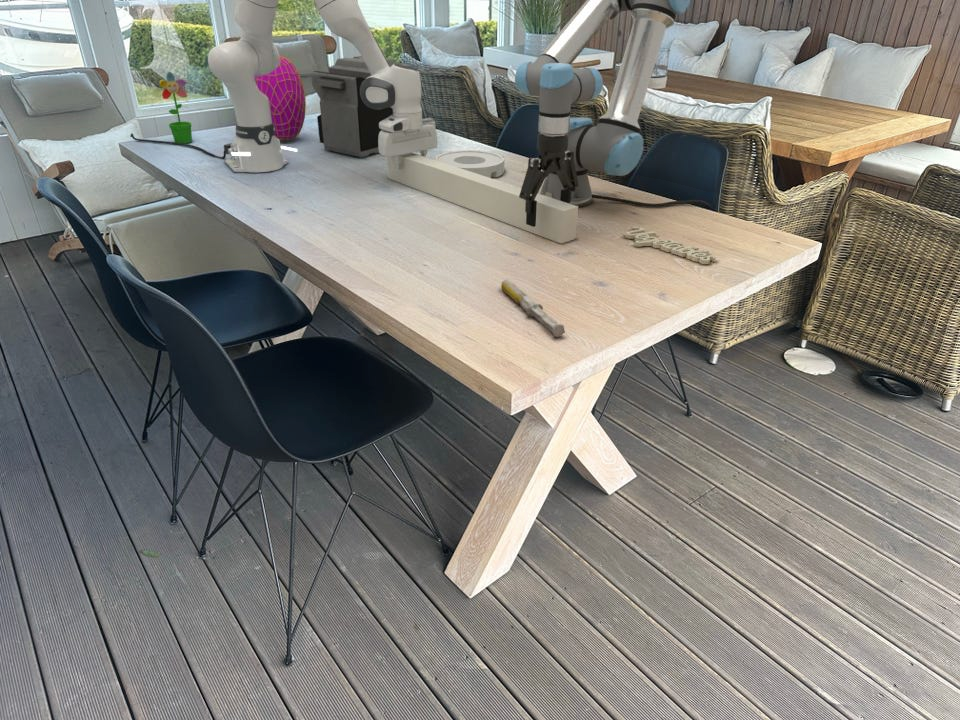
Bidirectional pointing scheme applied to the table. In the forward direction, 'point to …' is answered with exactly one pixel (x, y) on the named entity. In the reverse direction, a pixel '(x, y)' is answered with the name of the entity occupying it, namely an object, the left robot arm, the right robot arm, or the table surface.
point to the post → (485, 196)
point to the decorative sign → (669, 245)
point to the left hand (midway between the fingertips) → (409, 166)
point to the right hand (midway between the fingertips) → (547, 220)
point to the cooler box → (347, 109)
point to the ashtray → (474, 162)
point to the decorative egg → (284, 99)
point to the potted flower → (178, 129)
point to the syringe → (532, 308)
